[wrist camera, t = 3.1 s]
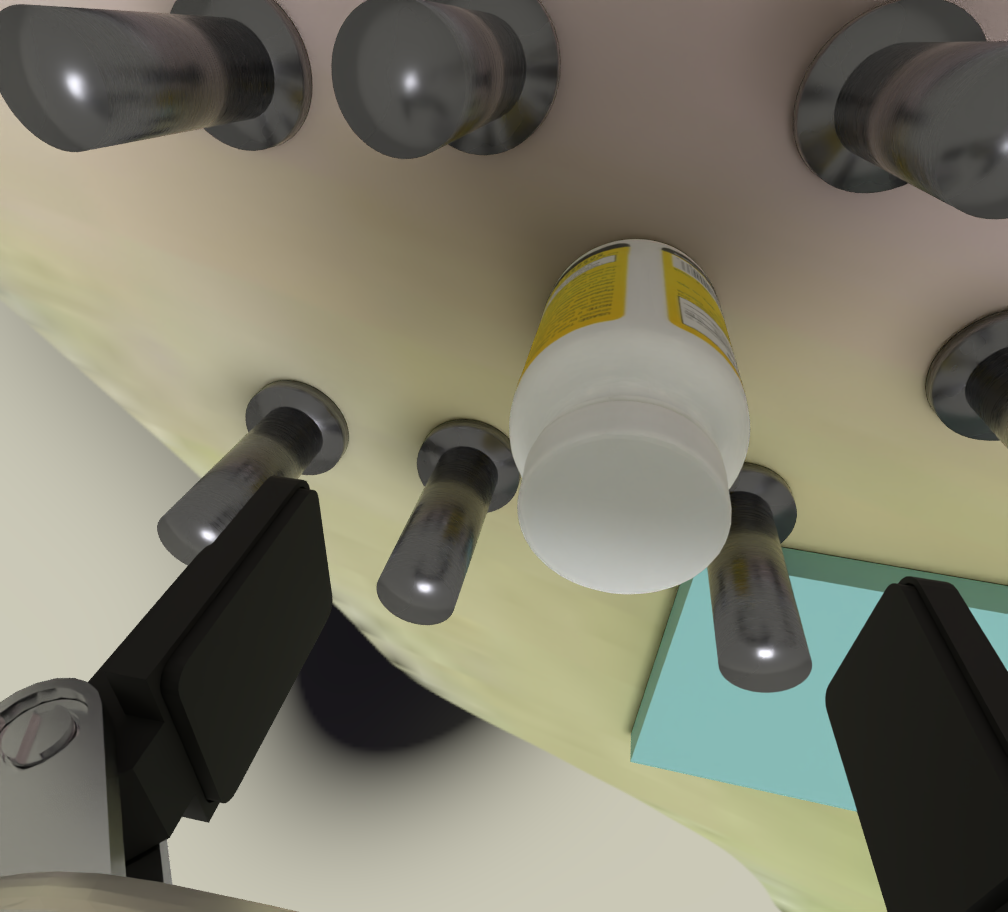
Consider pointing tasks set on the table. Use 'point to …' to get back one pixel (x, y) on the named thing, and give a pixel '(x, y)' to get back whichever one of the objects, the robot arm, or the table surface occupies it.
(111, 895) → the robot arm
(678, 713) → the teal pad
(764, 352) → the table surface
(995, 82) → the spacer field
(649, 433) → the supplement bottle
